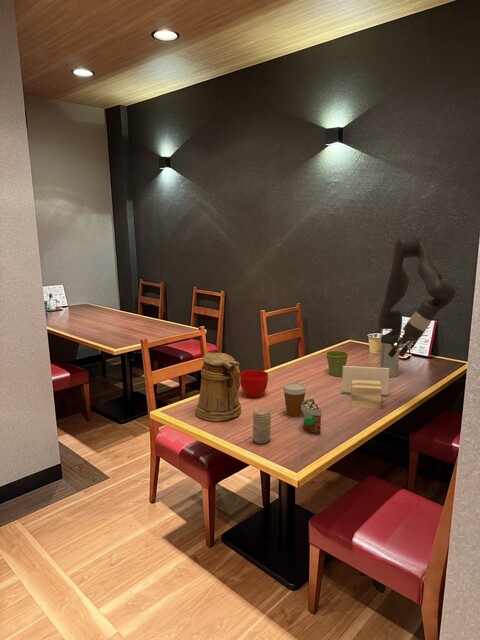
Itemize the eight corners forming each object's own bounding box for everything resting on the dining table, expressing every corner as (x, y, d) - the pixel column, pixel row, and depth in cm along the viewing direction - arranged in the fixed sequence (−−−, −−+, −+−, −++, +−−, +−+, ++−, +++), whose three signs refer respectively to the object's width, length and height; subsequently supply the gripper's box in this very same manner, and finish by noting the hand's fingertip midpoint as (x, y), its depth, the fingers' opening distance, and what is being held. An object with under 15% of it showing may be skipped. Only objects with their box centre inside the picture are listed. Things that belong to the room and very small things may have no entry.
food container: (297, 422, 181) (298, 398, 179) (313, 421, 182) (313, 397, 179) (304, 436, 169) (305, 411, 167) (321, 435, 170) (321, 410, 167)
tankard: (219, 401, 204) (218, 347, 199) (258, 416, 188) (257, 357, 182) (187, 413, 192) (185, 355, 187) (225, 430, 175) (223, 368, 170)
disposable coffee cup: (308, 410, 192) (308, 383, 190) (303, 420, 183) (303, 391, 181) (285, 408, 195) (285, 381, 193) (280, 417, 186) (280, 389, 184)
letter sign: (342, 389, 216) (342, 363, 213) (386, 392, 211) (388, 365, 208) (342, 394, 210) (342, 366, 207) (387, 397, 205) (389, 369, 203)
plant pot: (347, 371, 242) (348, 350, 240) (348, 378, 230) (349, 357, 228) (324, 370, 244) (325, 349, 242) (324, 377, 233) (325, 356, 230)
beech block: (351, 398, 205) (351, 379, 203) (379, 400, 203) (379, 380, 201) (351, 407, 196) (352, 386, 194) (380, 408, 193) (381, 388, 191)
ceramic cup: (275, 389, 217) (275, 369, 215) (261, 402, 202) (261, 380, 200) (250, 385, 223) (250, 366, 221) (235, 397, 208) (234, 376, 206)
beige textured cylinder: (250, 444, 164) (249, 412, 162) (256, 435, 171) (256, 404, 168) (267, 446, 162) (266, 415, 159) (273, 437, 169) (273, 407, 166)
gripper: (418, 319, 193) (397, 349, 200) (401, 318, 183) (379, 350, 190) (432, 330, 188) (410, 360, 195) (416, 330, 179) (393, 362, 186)
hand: (395, 355), depth 193 cm, fingers open, 8 cm apart
